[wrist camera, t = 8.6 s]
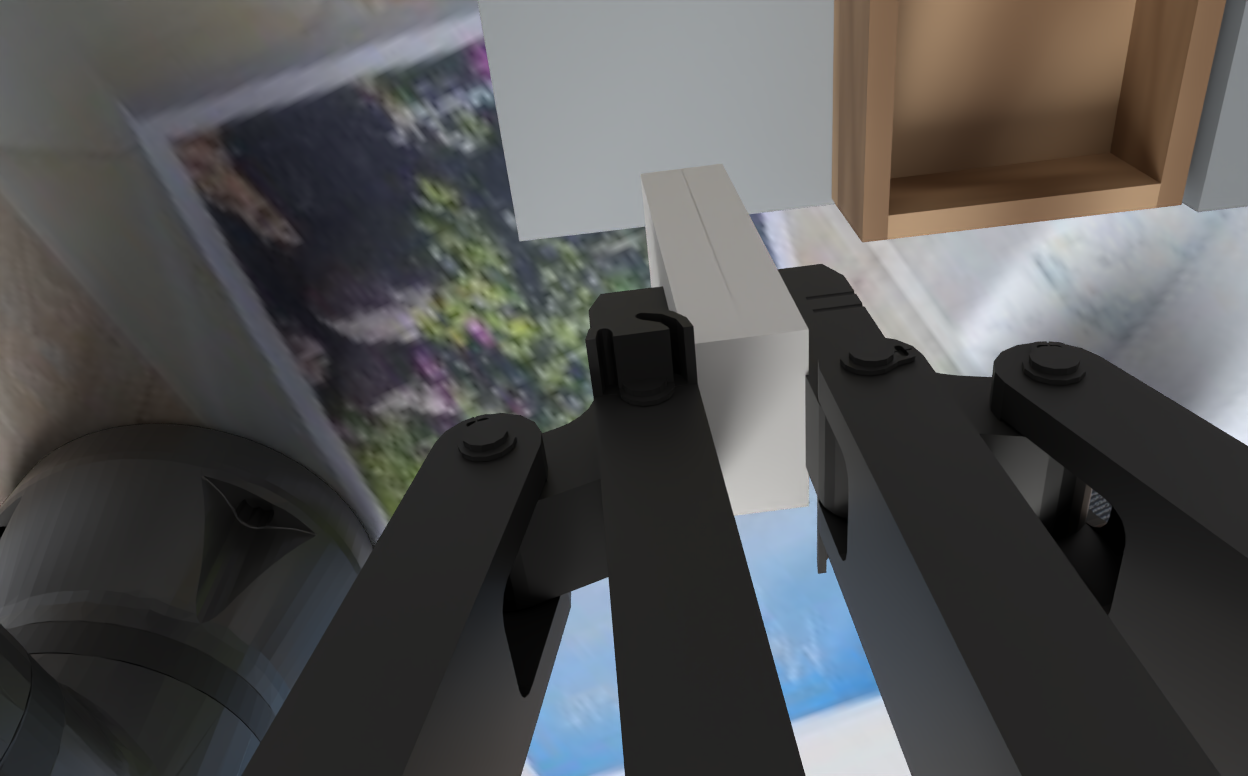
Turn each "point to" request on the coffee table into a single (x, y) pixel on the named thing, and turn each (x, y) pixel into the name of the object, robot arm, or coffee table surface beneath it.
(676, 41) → the board
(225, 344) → the coffee table surface
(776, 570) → the coffee table surface
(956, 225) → the wooden tray
